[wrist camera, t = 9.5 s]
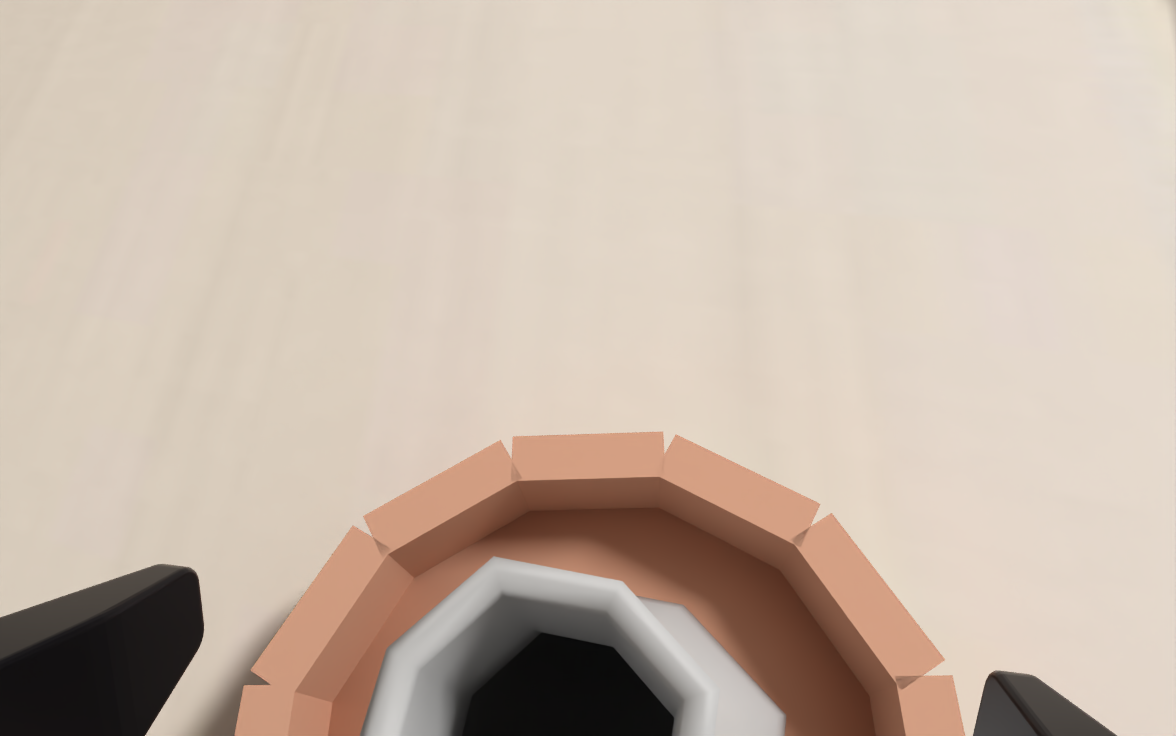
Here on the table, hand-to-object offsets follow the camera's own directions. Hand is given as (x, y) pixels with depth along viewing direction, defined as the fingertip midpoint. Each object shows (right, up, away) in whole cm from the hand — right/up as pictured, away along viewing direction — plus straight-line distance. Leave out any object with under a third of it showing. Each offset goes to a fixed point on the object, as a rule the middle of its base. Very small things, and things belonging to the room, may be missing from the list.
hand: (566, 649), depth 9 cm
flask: (+1, -5, +7) cm, 8 cm away
